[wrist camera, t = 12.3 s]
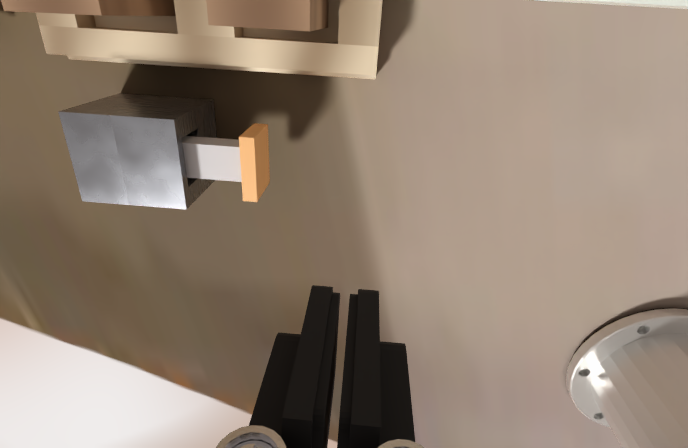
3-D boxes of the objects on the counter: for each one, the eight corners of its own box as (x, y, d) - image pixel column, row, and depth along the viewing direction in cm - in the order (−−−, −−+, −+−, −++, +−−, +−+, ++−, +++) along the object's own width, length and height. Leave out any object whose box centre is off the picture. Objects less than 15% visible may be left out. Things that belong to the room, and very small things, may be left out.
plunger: (267, 124, 23) (254, 137, 21) (269, 182, 25) (257, 202, 22) (186, 118, 23) (162, 131, 21) (193, 176, 25) (172, 195, 22)
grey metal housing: (213, 99, 25) (173, 119, 20) (220, 174, 28) (186, 209, 23) (120, 93, 25) (58, 111, 20) (134, 168, 28) (82, 201, 23)
